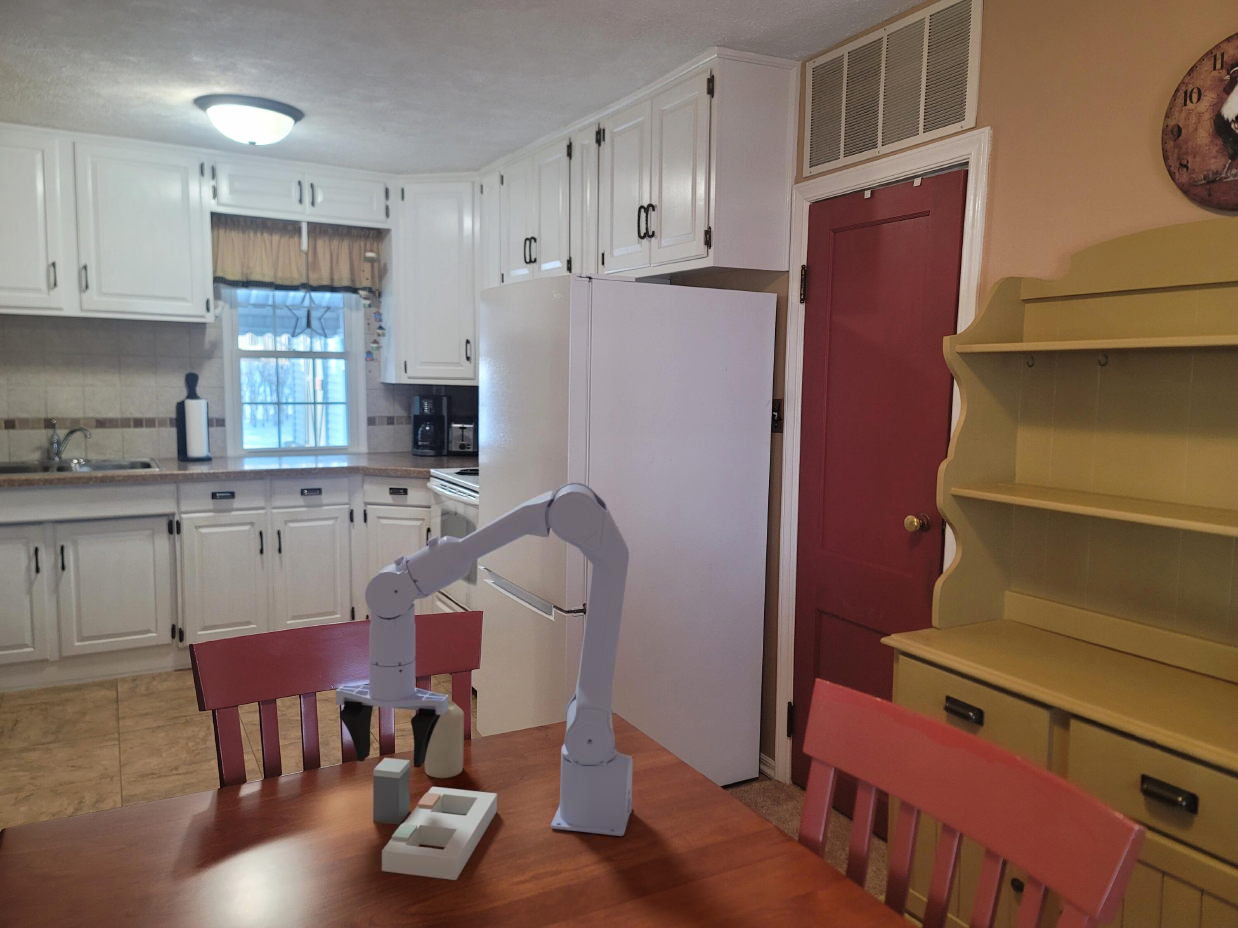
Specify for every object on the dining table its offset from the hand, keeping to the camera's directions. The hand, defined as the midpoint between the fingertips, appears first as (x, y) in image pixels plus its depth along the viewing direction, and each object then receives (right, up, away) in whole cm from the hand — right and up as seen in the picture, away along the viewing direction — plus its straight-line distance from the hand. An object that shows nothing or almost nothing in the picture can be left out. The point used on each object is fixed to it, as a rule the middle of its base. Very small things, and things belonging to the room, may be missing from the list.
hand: (391, 760), depth 113 cm
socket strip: (+8, -8, -4) cm, 12 cm away
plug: (0, -8, +1) cm, 8 cm away
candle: (+4, -6, +14) cm, 16 cm away
